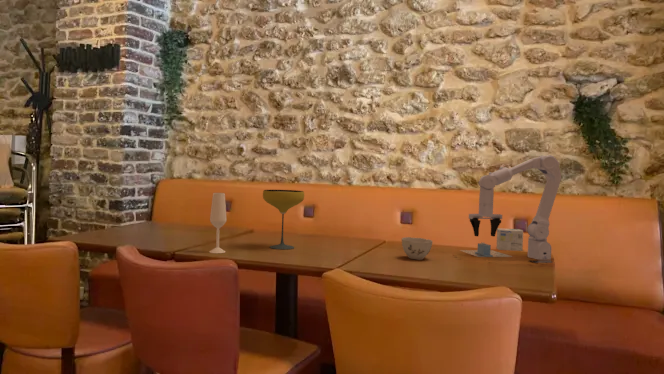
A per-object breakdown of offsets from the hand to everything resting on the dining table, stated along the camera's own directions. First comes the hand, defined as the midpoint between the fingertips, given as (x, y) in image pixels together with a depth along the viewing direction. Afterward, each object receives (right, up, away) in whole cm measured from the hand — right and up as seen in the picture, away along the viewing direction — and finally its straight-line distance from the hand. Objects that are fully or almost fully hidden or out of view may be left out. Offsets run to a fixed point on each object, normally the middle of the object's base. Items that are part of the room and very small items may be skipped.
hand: (484, 236), depth 226 cm
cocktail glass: (-86, -6, +11) cm, 87 cm away
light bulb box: (+17, -10, +19) cm, 27 cm away
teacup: (-29, -9, -5) cm, 31 cm away
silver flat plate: (+2, -9, +5) cm, 10 cm away
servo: (0, -9, 0) cm, 9 cm away
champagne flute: (-111, -6, -6) cm, 111 cm away
